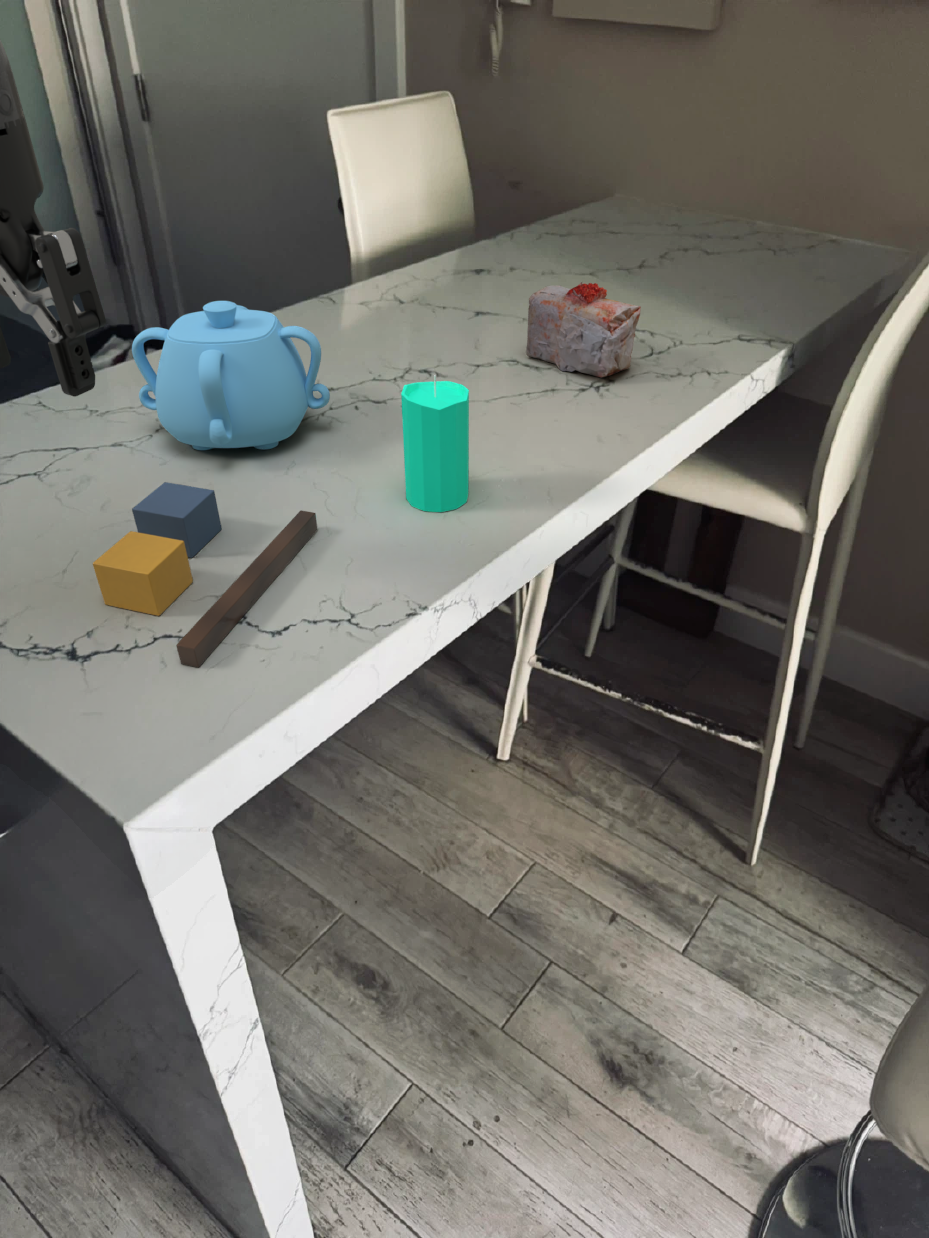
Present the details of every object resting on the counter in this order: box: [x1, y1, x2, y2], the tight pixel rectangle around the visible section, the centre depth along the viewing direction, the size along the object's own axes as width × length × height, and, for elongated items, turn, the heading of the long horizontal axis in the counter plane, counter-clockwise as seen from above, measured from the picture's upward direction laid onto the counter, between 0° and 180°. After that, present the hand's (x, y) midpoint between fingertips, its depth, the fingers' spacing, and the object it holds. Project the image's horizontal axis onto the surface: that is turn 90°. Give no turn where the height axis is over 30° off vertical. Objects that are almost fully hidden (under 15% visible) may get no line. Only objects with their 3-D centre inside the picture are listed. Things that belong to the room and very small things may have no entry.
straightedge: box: [176, 509, 318, 669], centre depth 70 cm, size 20×2×2 cm, turn 162°
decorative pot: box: [131, 300, 331, 451], centre depth 90 cm, size 16×16×14 cm
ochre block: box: [92, 530, 194, 617], centre depth 69 cm, size 5×5×4 cm
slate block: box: [131, 481, 223, 559], centre depth 76 cm, size 5×5×4 cm
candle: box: [400, 374, 470, 513], centre depth 79 cm, size 6×6×12 cm
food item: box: [525, 281, 642, 379], centre depth 107 cm, size 14×8×10 cm, turn 50°
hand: (37, 379), depth 61 cm, fingers open, 8 cm apart
